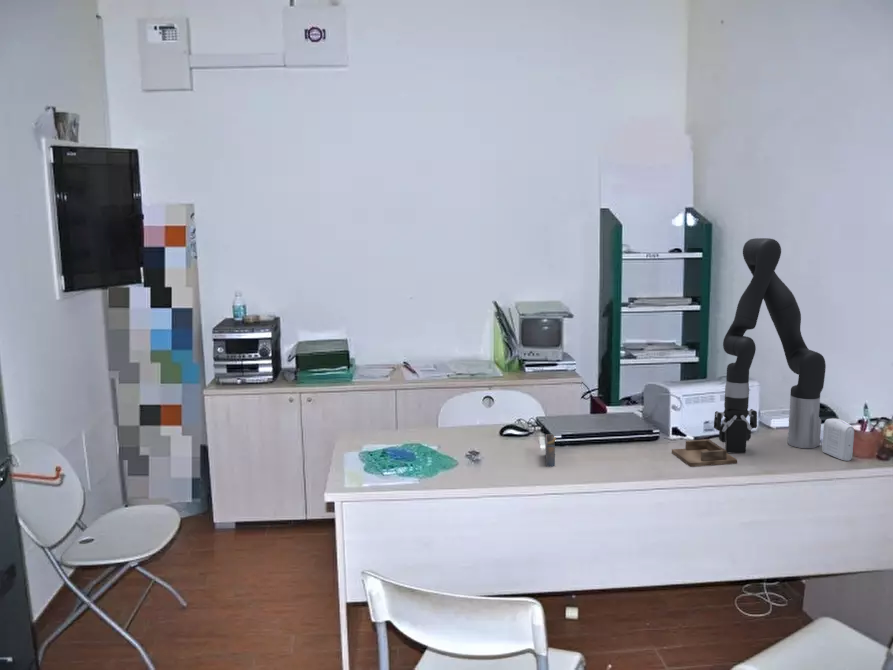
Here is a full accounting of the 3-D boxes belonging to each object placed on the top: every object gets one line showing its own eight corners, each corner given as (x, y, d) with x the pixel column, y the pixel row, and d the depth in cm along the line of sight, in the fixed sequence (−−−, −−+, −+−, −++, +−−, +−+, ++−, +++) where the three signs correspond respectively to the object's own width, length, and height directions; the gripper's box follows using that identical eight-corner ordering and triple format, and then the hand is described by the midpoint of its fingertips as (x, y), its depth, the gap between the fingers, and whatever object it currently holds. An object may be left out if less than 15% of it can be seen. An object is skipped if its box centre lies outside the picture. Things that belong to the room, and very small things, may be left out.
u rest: (716, 449, 263) (716, 437, 262) (737, 463, 249) (737, 450, 249) (671, 452, 261) (671, 440, 260) (690, 466, 247) (690, 454, 246)
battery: (742, 449, 262) (744, 417, 260) (746, 453, 259) (748, 420, 257) (722, 449, 263) (723, 417, 261) (725, 453, 259) (727, 420, 257)
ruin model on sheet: (556, 467, 250) (556, 439, 249) (546, 467, 251) (546, 438, 249) (554, 456, 262) (554, 428, 260) (545, 456, 262) (545, 428, 260)
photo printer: (854, 460, 250) (857, 423, 248) (843, 461, 249) (846, 424, 246) (830, 450, 260) (832, 415, 257) (819, 452, 258) (822, 416, 256)
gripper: (750, 390, 262) (748, 436, 265) (711, 392, 260) (709, 439, 263) (762, 395, 255) (760, 443, 257) (722, 398, 253) (720, 445, 255)
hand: (734, 440), depth 260 cm, fingers open, 8 cm apart
